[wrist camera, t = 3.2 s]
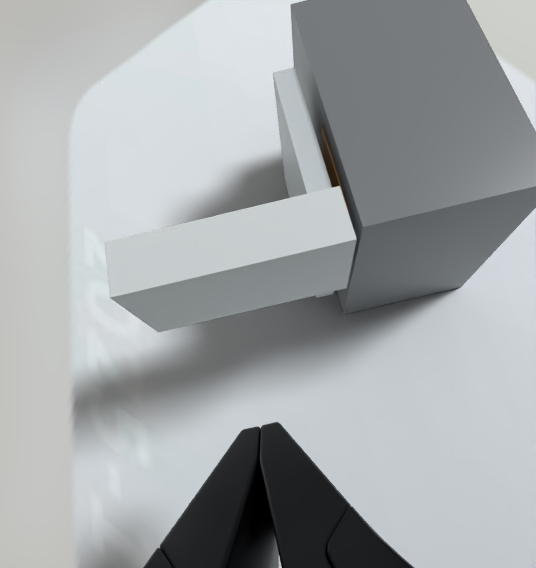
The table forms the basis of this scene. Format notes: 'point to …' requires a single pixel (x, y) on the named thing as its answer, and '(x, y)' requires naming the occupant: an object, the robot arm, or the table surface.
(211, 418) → the table surface
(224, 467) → the robot arm
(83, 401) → the table surface
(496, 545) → the table surface
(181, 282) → the side door
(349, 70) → the block
